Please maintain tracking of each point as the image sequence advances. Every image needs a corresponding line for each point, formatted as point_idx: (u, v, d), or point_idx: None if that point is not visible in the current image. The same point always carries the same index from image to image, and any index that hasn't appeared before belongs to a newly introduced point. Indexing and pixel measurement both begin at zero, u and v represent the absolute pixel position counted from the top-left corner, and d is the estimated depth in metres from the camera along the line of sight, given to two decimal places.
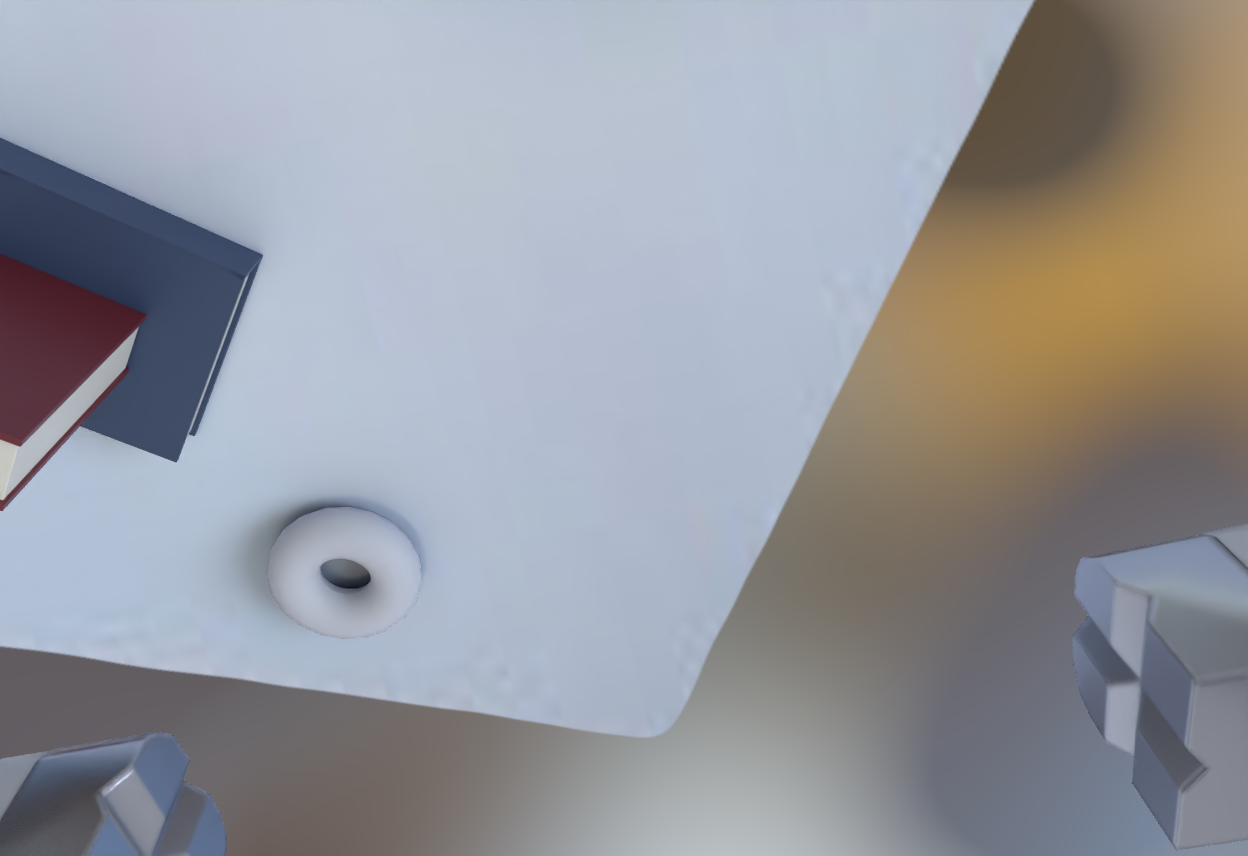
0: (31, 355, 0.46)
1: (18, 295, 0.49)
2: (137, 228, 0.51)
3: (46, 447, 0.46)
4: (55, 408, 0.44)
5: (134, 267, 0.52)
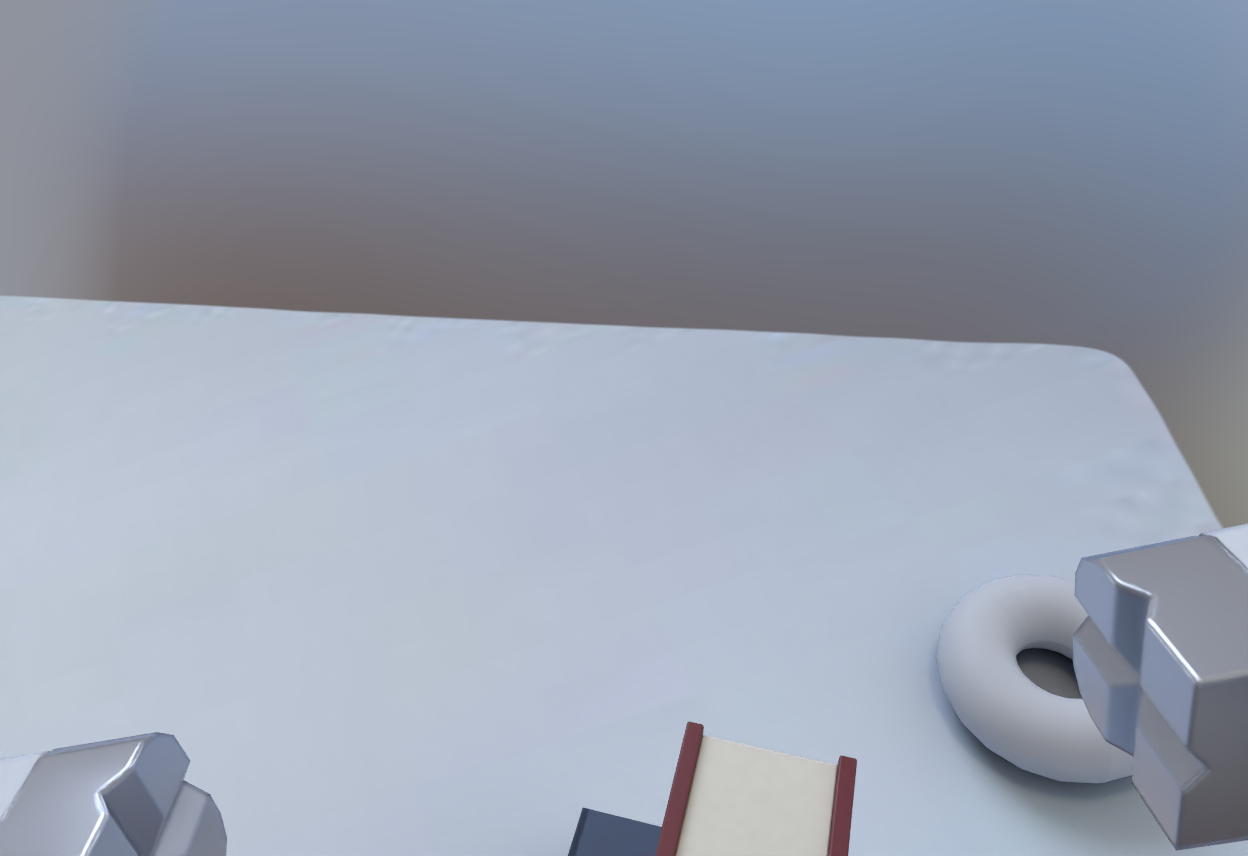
0: None
1: None
2: None
3: None
4: None
5: None
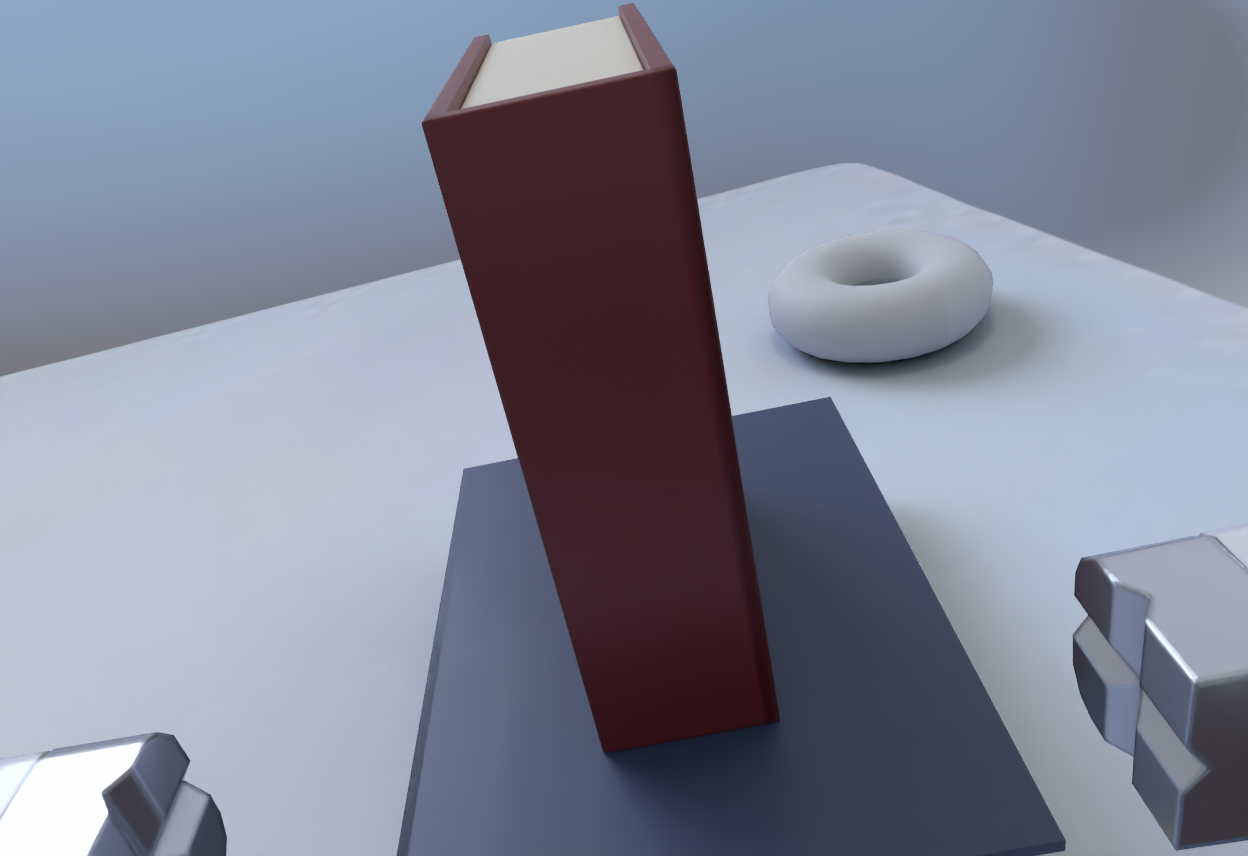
0: None
1: None
2: (446, 569, 0.29)
3: None
4: None
5: (517, 546, 0.29)
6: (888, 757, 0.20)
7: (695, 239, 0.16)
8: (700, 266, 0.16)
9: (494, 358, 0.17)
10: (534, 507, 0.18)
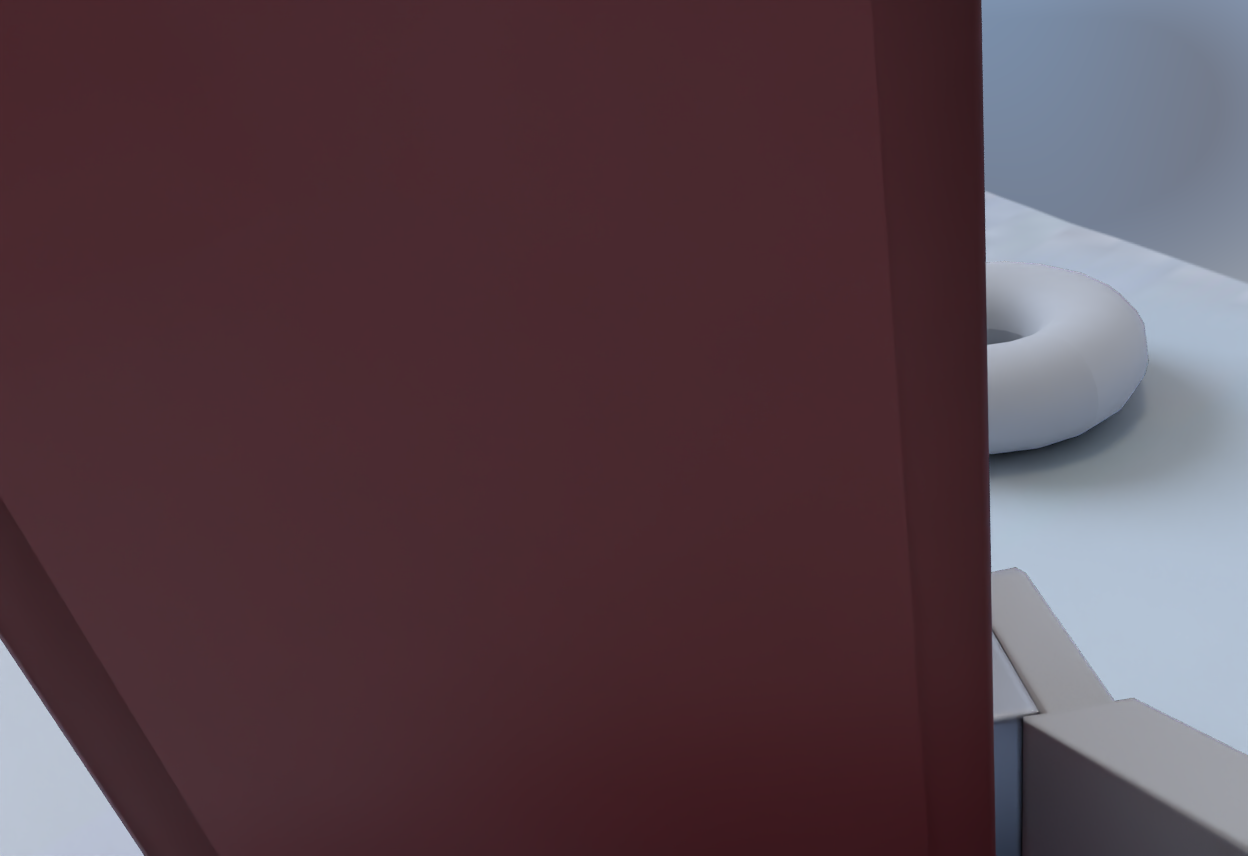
0: None
1: None
2: None
3: None
4: None
5: None
6: None
7: (963, 541, 0.04)
8: (966, 628, 0.04)
9: None
10: None
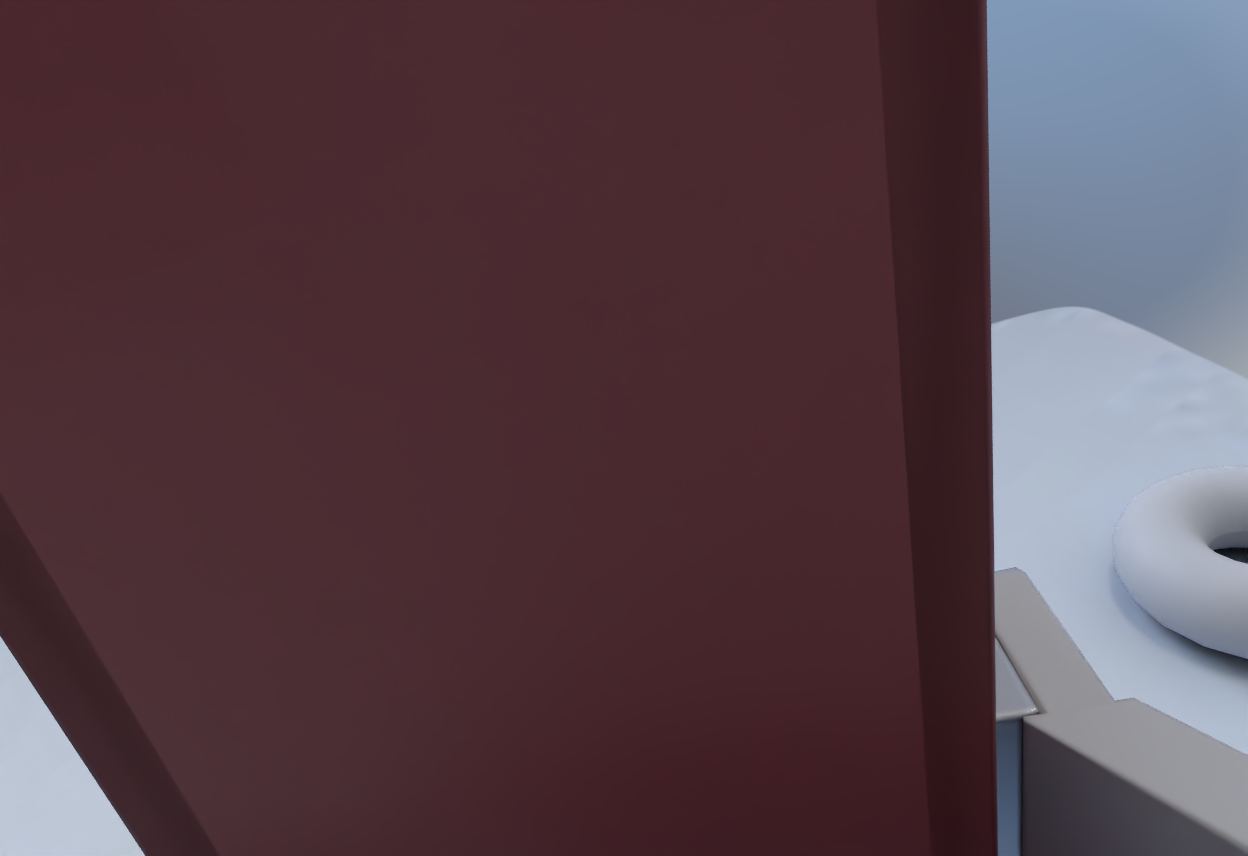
0: None
1: None
2: None
3: None
4: None
5: None
6: None
7: (966, 540, 0.04)
8: (969, 627, 0.04)
9: None
10: None
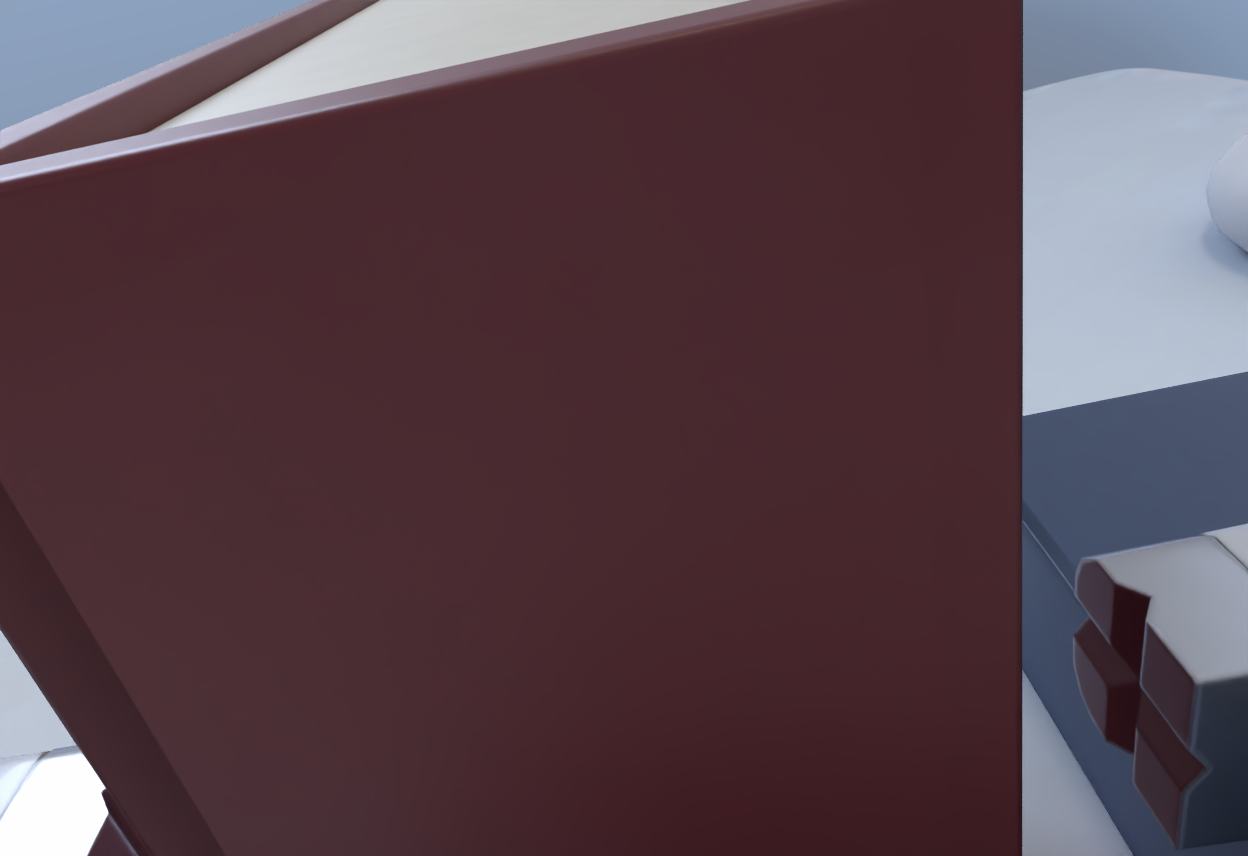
0: None
1: None
2: (1085, 612, 0.15)
3: None
4: None
5: None
6: None
7: (997, 664, 0.04)
8: (998, 739, 0.04)
9: None
10: None
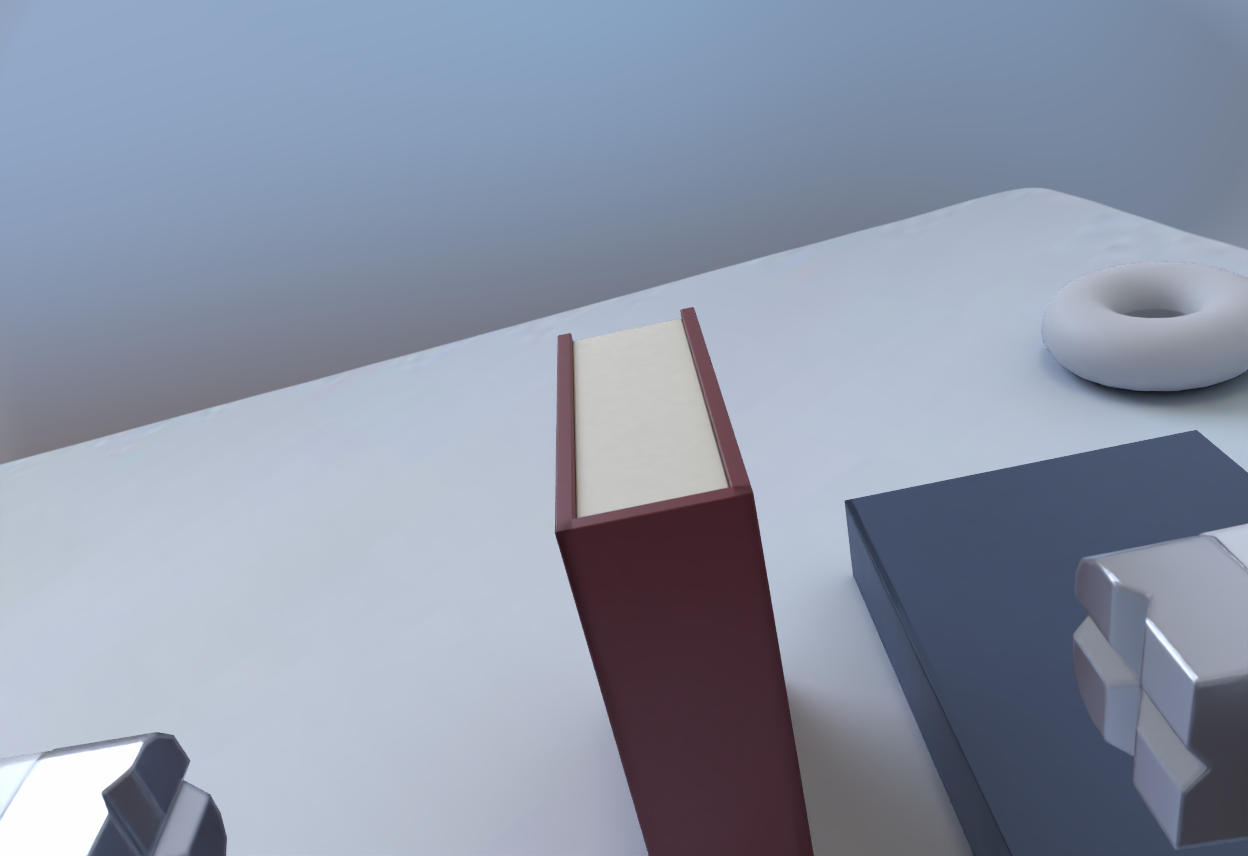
0: None
1: None
2: (889, 599, 0.31)
3: None
4: None
5: (953, 575, 0.32)
6: None
7: (765, 601, 0.20)
8: (768, 618, 0.21)
9: (602, 683, 0.21)
10: (629, 783, 0.23)
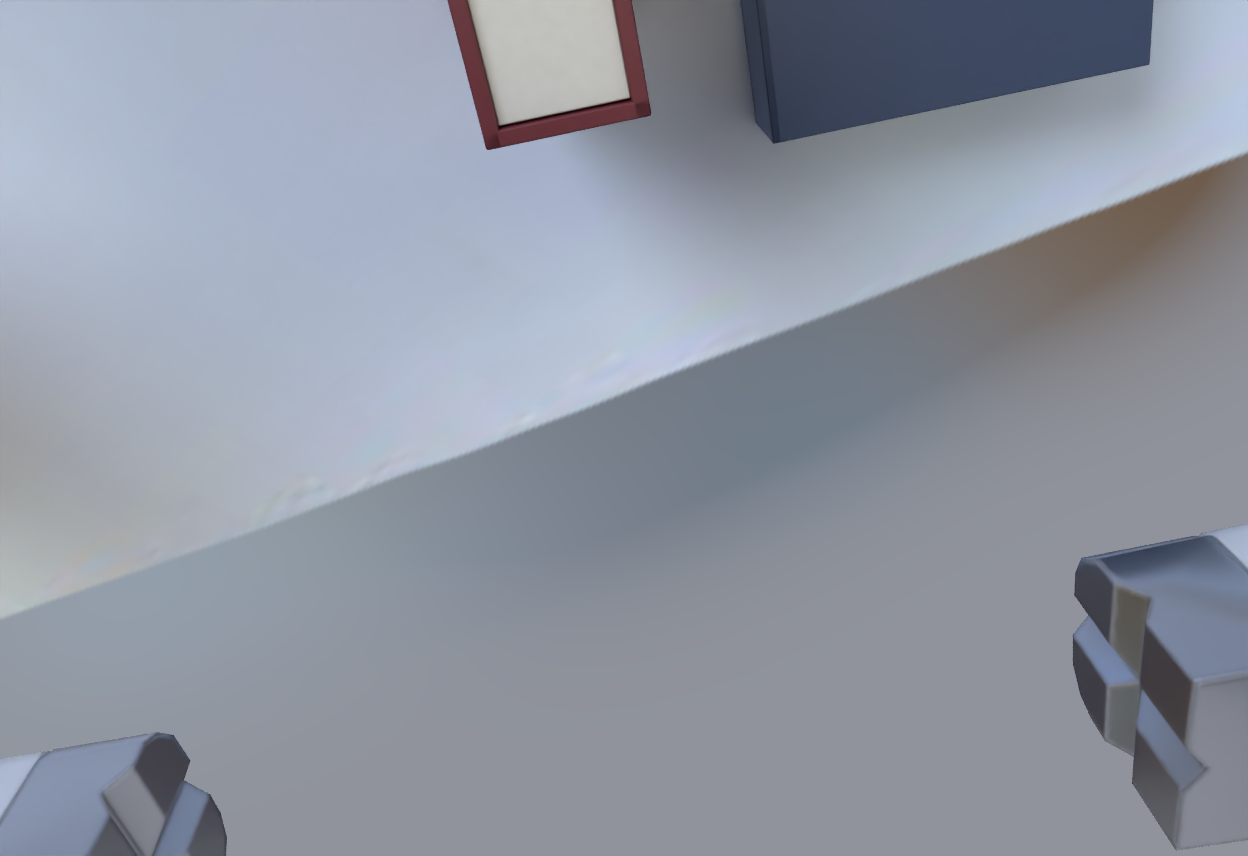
0: None
1: None
2: None
3: None
4: None
5: None
6: (1077, 1, 0.32)
7: None
8: None
9: None
10: None
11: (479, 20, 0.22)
